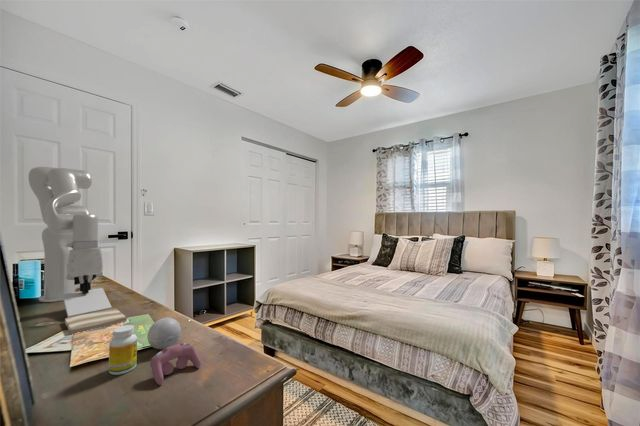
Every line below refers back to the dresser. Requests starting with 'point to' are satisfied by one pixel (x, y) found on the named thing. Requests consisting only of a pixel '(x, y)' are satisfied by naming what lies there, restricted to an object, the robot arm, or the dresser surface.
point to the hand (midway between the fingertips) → (85, 292)
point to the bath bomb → (164, 333)
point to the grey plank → (85, 302)
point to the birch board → (94, 320)
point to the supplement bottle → (122, 350)
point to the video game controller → (175, 351)
